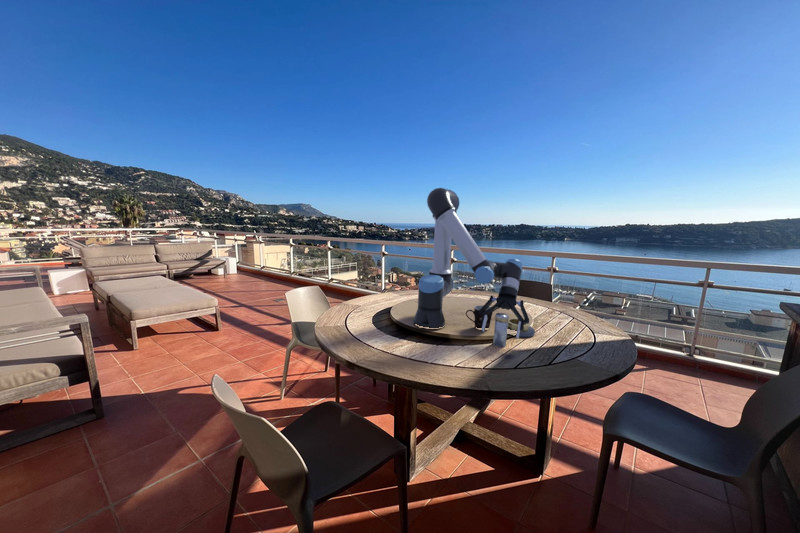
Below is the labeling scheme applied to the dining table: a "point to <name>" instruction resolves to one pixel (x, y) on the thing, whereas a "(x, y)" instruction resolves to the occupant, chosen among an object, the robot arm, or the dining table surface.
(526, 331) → the socket plate
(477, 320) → the coffee mug
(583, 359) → the dining table surface
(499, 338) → the salt shaker
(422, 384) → the dining table surface
